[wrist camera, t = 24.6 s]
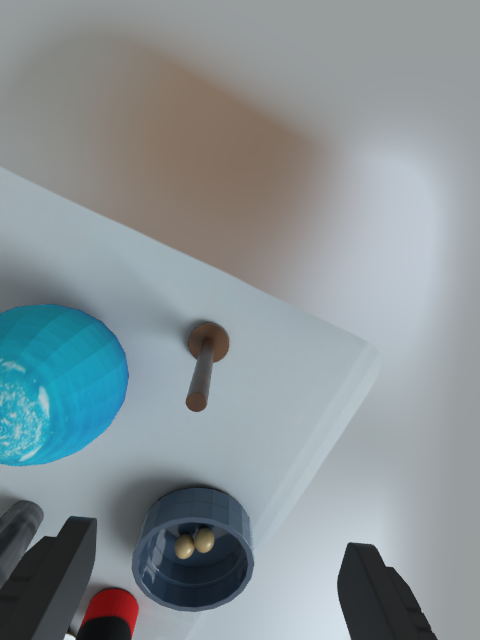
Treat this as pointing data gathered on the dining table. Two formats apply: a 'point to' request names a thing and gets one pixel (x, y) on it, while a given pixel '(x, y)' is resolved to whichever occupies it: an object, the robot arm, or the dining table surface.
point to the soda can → (109, 616)
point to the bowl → (200, 568)
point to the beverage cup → (17, 535)
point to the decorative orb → (56, 382)
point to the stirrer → (205, 361)
